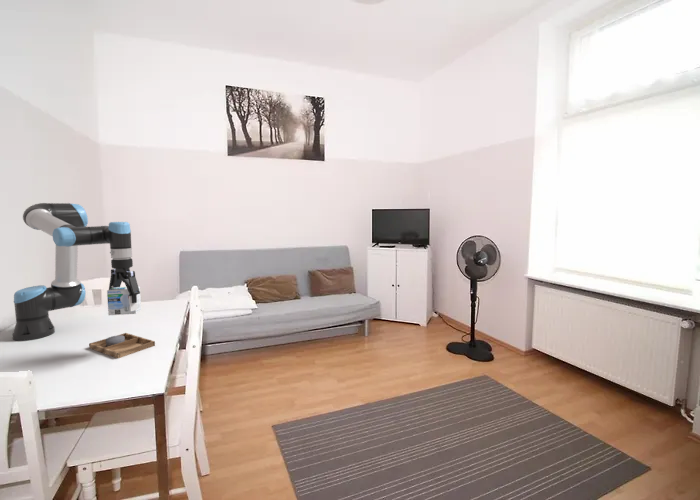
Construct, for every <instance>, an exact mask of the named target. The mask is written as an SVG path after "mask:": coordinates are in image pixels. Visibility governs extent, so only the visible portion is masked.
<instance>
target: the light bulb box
mask: <svg viewBox="0 0 700 500" xmlns="http://www.w3.org/2000/svg"><path fill="white" fill-rule="evenodd" d="M112 287H113V286H112ZM138 287H139V291H140V292H141V286H139V285H138ZM106 294H107V295H106V297H107V311H108V313H107V314H108V316H120V315H121V316H122V315H123V316H124V315H136V314H138V313H139V312H140V311H142V305H141V304H142V302H141V300H142V299H141V298H142V297H141V293H140V294H137V310H135V311H130V307H129V292H128V289H127V287H126V286H120V287H113V288H111V289H109V288H108V290H106Z"/></svg>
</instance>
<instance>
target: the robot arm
mask: <svg viewBox="0 0 700 500" xmlns="http://www.w3.org/2000/svg"><path fill="white" fill-rule="evenodd" d="M22 220H23V222H24V223H25V224H26V226H27V227H29V228H31V229H33V230H37V231H41V232H43V233H46V234H47V235H49V236H51V237H52V241H53V242H54V244H55V253H54V254H55V259H54V260H55V262H54V263H55V265H54V267H55V271H54V280H52V281H51V282H50V286H49V287H47V286H46V285H41V284H40V285H33V286H28V287H24V288H21V289H18V290H17V291H16V292H14V295H13V304H14V313H15V325H14V329H13V331H12V340H13V341H17V342H19V341H33V340H36V339H41V338H45V337H48V336H50V335H53V334H54V333H55V326H54V324H53V322H52V320H51V319H50V316H49V315H50V314H49V312H51V311H52V312H53V311H56V310H62V309H68V308H72V307H73V308H74V307H77V306H80V305H81V304H83V302H84V301H85V298H86V293H87V292H86V287H85V285H84V283H82V282H81V281H80V280H79V279H78V252H79V251H78V249H79V246H88V245H105V244H106V245H107V244H109V246H110V247H109V248H110V251H109V254H110V258H111V260H110V262H111V263H110V264H111V265H110V266H111V269H110V279H109V284H108V290H109V289H111V288H113V287H121V285H122V283H124V285H125V287H127V289H128V292H129V307H130V311H135V310H137V294H140V295H141V290H140V291H139V287H138V286H139V285H138V280H137V277H136V272H135V271H134V270H132V271H131V268H133V266H134V265H133V264H134V263H133V250H132V249H133V248H132V230H131V226H130V225H131V224H130V222H128V221H110V222H109V223H108V225H97V226H88V223H89V218H88V214H87V212H86V210H85V208H84V207H83V206H82V205H80V204H78V203H69V202H67V203H66V202H65V203H63V202H62V203H59V202H58V203H57V202H55V203H54V202H50V203H48V202H42V203H41V202H39V203H35V204H32V205H30V206H29V207H27V208H25V211H23V213H22Z"/></svg>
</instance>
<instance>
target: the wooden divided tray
mask: <svg viewBox="0 0 700 500" xmlns="http://www.w3.org/2000/svg"><path fill="white" fill-rule="evenodd" d="M118 335H122V336H124V337H125V341H124V342H121V343H118V344H115V345H111V346H108V347H106V339H107V338H103V339H100V340H97V341H93V342H90V343H89V344H88V348H89V349H90V350H94V351H95V352H99V353H101V354H104V355H107V356H110V357H113V358H116V359H120V358H124V357H126V356H130V355H132V354H136V353H138V352H141V351H144V350H147V349H149V348H152V347H156V342H155V340H152V339H148V338H145V337H141V336H138V335H135V334H131V333H127V332H124V333H121V334H117V335H116V336H118Z"/></svg>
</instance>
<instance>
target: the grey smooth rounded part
mask: <svg viewBox="0 0 700 500" xmlns="http://www.w3.org/2000/svg"><path fill="white" fill-rule="evenodd" d="M117 335H118V336H117ZM117 335H112V336H109V337H107V338H105V339H106V347H108V346H111V345H115V344H118V343H121V342H124V341H125V337H124V336H122V335H120V334H117Z"/></svg>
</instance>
